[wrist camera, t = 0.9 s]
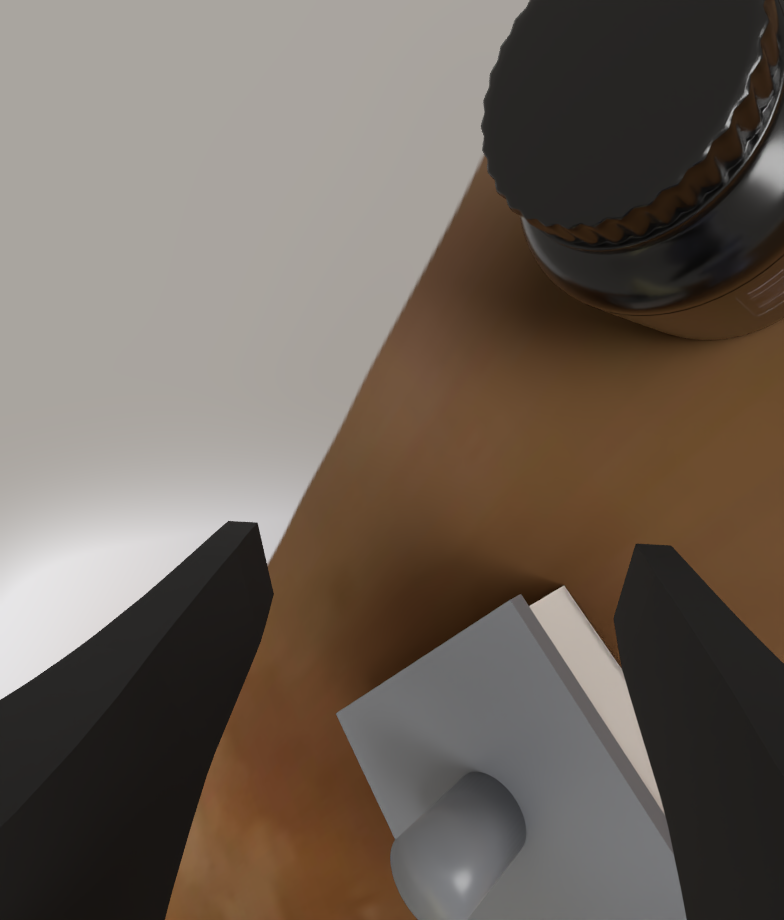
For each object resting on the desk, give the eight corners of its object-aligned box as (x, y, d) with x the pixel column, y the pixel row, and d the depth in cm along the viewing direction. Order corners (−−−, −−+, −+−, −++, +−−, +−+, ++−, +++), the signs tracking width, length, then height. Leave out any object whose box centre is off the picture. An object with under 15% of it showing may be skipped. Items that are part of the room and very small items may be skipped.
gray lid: (761, 963, 15) (731, 1133, 12) (482, 985, 22) (408, 1098, 18) (520, 593, 20) (444, 635, 16) (348, 706, 26) (266, 753, 23)
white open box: (753, 860, 19) (732, 945, 16) (529, 903, 25) (483, 971, 22) (564, 585, 23) (519, 612, 20) (410, 681, 29) (358, 713, 26)
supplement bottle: (589, 305, 21) (390, 227, 12) (683, 114, 19) (518, -162, 10) (773, 377, 18) (683, 343, 8) (921, 151, 15) (1018, -242, 6)
